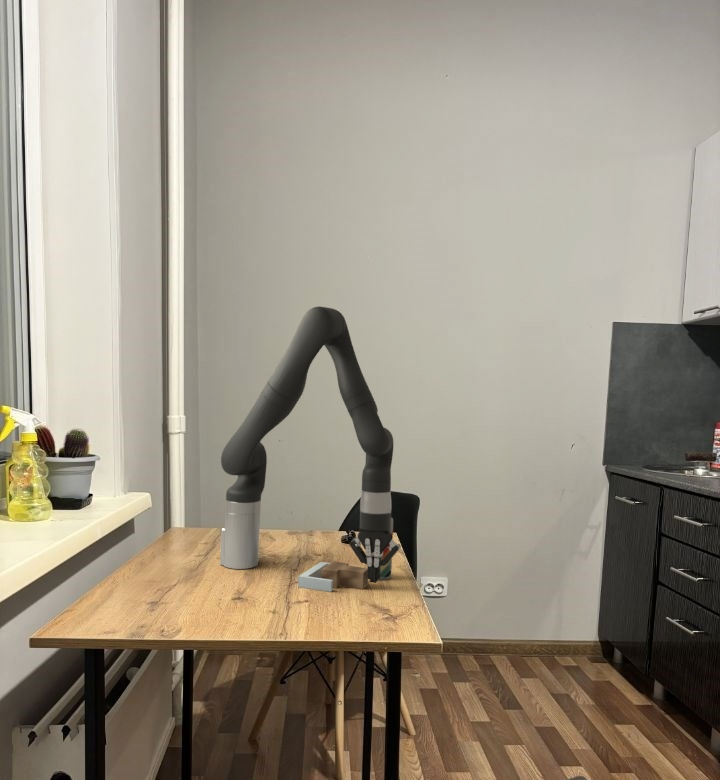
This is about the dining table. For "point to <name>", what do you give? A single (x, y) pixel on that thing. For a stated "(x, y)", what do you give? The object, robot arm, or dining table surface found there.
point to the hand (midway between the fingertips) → (373, 581)
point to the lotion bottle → (386, 569)
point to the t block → (345, 575)
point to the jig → (315, 579)
